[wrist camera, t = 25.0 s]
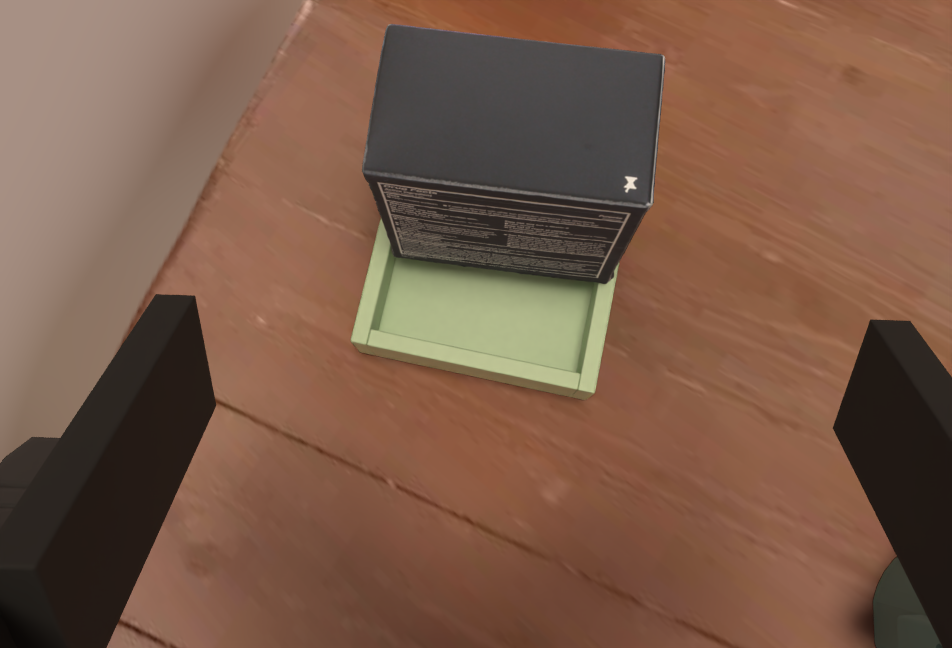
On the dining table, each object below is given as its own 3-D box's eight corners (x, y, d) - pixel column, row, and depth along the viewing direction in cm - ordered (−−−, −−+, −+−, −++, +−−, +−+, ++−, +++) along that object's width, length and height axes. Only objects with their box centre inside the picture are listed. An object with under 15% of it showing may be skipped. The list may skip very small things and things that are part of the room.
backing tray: (359, 352, 42) (349, 341, 39) (427, 72, 45) (424, 41, 42) (586, 400, 41) (594, 393, 38) (640, 114, 44) (652, 86, 41)
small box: (624, 158, 40) (673, 44, 30) (611, 287, 39) (659, 215, 29) (408, 132, 41) (385, 11, 30) (389, 260, 39) (357, 178, 29)
